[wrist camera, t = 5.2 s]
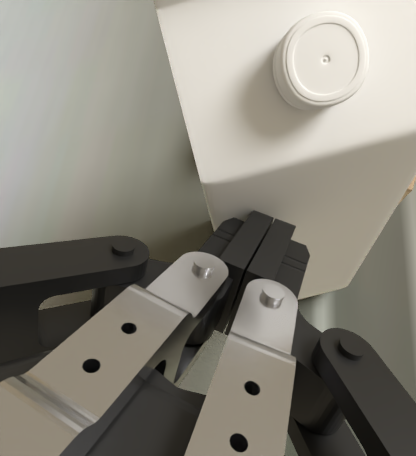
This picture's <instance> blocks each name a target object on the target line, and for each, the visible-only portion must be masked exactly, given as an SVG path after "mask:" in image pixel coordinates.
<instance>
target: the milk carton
mask: <svg viewBox="0 0 416 456" xmlns="http://www.w3.org/2000/svg"><path fill="white" fill-rule="evenodd" d="M154 4H155V8H156V12H157V15H158V19H159V23H160V27H161V31H162V35H163V39H164V42H165V46H166V50H167V54H168V58H169V62H170V65H171V69H172V73H173V77H174V81H175V85H176V89H177V92H178V96H179V100H180V104H181V108H182V112H183V116H184V119H185V123H186V127H187V131H188V135H189V139H190V142H191V146H192V150H193V154H194V158H195V162H196V166H197V169H198V173H199V177H200V181H201V185H202V188H203V192H204V196H205V200H206V203H207V207H208V211H209V215H210V218H211V222H212V226H213V230H214V232H215V230H217V228H218V227H219V226H220V224H221V223H222V222H223V221H225V220H228V219H231V218H233V217H234V218H237V219H239V220H242V221H244V222H245V221H246V220H247V218H248V217H249V215H250V214H251V213H252V211H253V210H255V211H258V212H261V213H263V214H266V215H268V216H271V217H274V220H275V218H277V219H279V220H282V221H284V222H287V223H290V224H292V225H295V226H296V228H295V230H294V233H293V235H292V238H291V240H293V241H296V242H298V243H301V244H304V245H306V246H307V249H308V251H309V254H310V258H309V261H308V264H307V268H306V271H305V275H304V278H303V282H302V285H301V288H300V292H299V295H298V299H297V300H299V299H303V298H307V297H311V296H315V295H319V294H323V293H326V292H330V291H334V290H338V289H342V288H345V287H347V286H348V285H349V283H350V281H351V280H352V278H353V277H354V275H355V273H356V272H357V270H358V268H359V267H360V265H361V264H362V262H363V260H364V259H365V257H366V255H367V254H368V252H369V250H370V249H371V247H372V246H373V244H374V242H375V241H376V239H377V237H378V236H379V234H380V233H381V231H382V229H383V228H384V226H385V224H386V223H387V221H388V219H389V218H390V216H391V215H392V213H393V211H394V210H395V208H396V206H397V205H398V203H399V202H400V200H401V198H402V197H403V195H404V193H405V192H406V190H407V189H408V187H409V185H410V184H411V182H412V180H413V179H414V177H415V175H416V0H154ZM274 220H273V222H274ZM272 224H273V223H272Z"/></svg>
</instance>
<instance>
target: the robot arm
mask: <svg viewBox="0 0 416 456" xmlns="http://www.w3.org/2000/svg"><path fill="white" fill-rule="evenodd" d="M273 220H274V217H271V216H268V215H266V214H263V213H261V212H258V211H255V210H253V211H252V213H251V214H250V215H249V217H248V218H247V220H246V221H245V222H244V221H242V220H239V219H237V218H234V217H233V218H231V219H228V220H225V221H223V222H222V223H221V224H220V226H219V227H218V228H217V230H215V232H214V233H213V234H212V235H211V236H210V238H209V239H208V240H207V241H206V242H205V244H204V245H203V246H202V247H201V248H200V250H199V251H198V252H189V253H186V254H184V255H182V256H181V257H180V258H179V259H178V260H176V261H175V262H174V263H168V262H162V261H157V260H152V259H148V258H149V250H148V248H147V246H146V245H145V244H144V243H143V242H141V241H139V240H137V239H135V238H132V237H128V236H109V237H100V238H90V239H81V240H72V241H63V242H54V243H45V244H35V245H26V246H17V247H8V248H0V456H285V455H284V452H285V445H286V437H287V432H288V434H289V436H290V438H291V441H292V443H293V445H294V447H295V449H296V451H297V454H298V456H365V454H364V453H363V451H362V449H361V448H360V446H359V444H358V442H357V441H356V439H355V437H354V436H353V434H352V432H351V431H350V429H349V427H348V426H347V424H346V422H345V419H347V421H348V423H349V424H350V426H351V428H352V429H353V431H354V433H355V434H356V436H357V438H358V439H359V441H360V443H361V444H362V446H363V448H364V450H365V452H366V454H367V456H416V403H415V402H414V400H413V399H412V398H411V397H410V395H409V394H408V393H407V391H406V390H405V389H404V388H403V386H402V385H401V384H400V382H399V381H398V380H397V378H396V377H395V376H394V375H393V373H392V372H391V371H390V369H389V368H388V367H387V366H386V364H385V363H384V362H383V360H382V359H381V358H380V357H379V355H378V354H377V353H376V351H375V350H374V349H373V348H372V347H371V345H370V344H369V343H368V342H366V341H365V340H364V339H363V338H361V337H360V336H358V335H357V334H355V333H353V332H350V331H348V330H345V329H340V328H331V329H327V330H326V331H324V332H323V333H322V332H320V331H319V330H317V329H316V328H315V327H313V326H312V325H311V324H309V323H308V322H307V321H306V320H305V319H304V317H303V316H302V315H301V313H300V312H299V310H298V301H297V299H298V295H299V292H300V288H301V285H302V282H303V278H304V275H305V271H306V268H307V264H308V261H309V258H310V254H309V251H308V249H307V246H306V245H304V244H301V243H298V242H296V241H293V240H291V238H292V235H293V233H294V230H295V228H296V226H295V225H292V224H290V223H287V222H284V221H282V220H279V219H277V218H275V220H274V222H273ZM272 223H273V224H272ZM90 289H92V299H91V300H90V301H84V302H79V303H74V304H69V305H64V306H59V307H54V308H48V309H43V310H38V308H39V306H40V304H41V303H42V302H43V301H44V300H46V299H47V298H49V297H52V296H56V295H62V294H67V293H73V292H79V291H84V290H90ZM229 319H230V320H229ZM228 321H229V323H228ZM227 323H228V326H227V329H226V332H225V334H226V335H228V338H227V340H226V343H225V346H224V349H223V351H222V354H221V357H220V360H219V362H218V365H217V368H216V371H215V373H214V376H213V379H212V381H211V384H210V387H209V390H208V392H207V395H203V394H199V393H195V392H191V391H187V390H183V389H180V388H178V387H179V385H180V384H181V382H182V381H183V379H184V378H185V377H186V375H187V374H188V372H189V371H190V369H191V368H192V366H193V365H194V363H195V362H196V360H197V359H198V357H199V356H200V355H201V353H202V352H203V350H204V348H205V346H206V343H207V340H208V339H209V338H210V337H211V335H212V333H213V331H214V330H217V331H219V332H221V333H223V331H224V329H225V327H226V325H227Z"/></svg>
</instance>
